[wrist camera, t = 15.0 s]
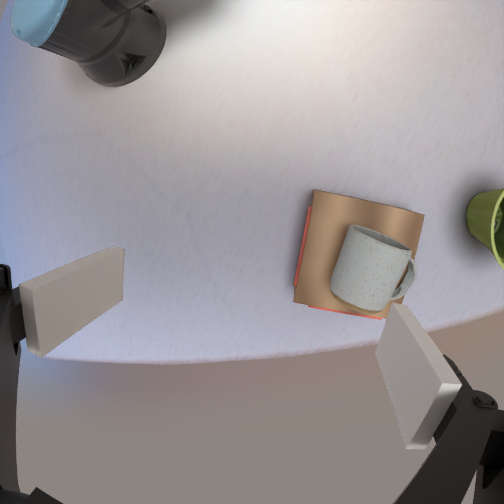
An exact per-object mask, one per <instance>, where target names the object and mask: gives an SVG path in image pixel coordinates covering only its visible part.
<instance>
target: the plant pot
mask: <svg viewBox="0 0 504 504" xmlns="http://www.w3.org/2000/svg"><path fill="white" fill-rule="evenodd" d="M466 219H467V225H468V229H469V231H470V233H471V234H472V235H473V236H474V237H475V238H476V239H478V240H479V241H480V242H481V243H482V244H484V245H485V246H486V247H487V248H488V249H489V250H490V251H492V253H493V254H494V256H495V258H496V260H497V262H498V263H499V265H500V266H501V267H502V268H503V269H504V189H499V190H493V191H488V192H482V193H479V194H477V195H476V196H474V197H473V199H472V200H471V201H470V203H469V205H468V208H467V212H466ZM495 222H496V223H497V224H496V226H495V228H494V223H495Z"/></svg>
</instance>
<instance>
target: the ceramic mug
mask: <svg viewBox="0 0 504 504" xmlns="http://www.w3.org/2000/svg"><path fill="white" fill-rule="evenodd" d="M411 254H412V250H411V249H410V248H409V247H407V246H406V245H404V244H402V243H401V242H399V241H397V240H395V239H393V238H391V237H389V236H387V235H384V234H381V233H379V232H377V231H374V230H371V229H369V228H365V227H362V226H358V225H350V226H349V228H348V231H347V234H346V238H345V240H344V243H343V246H342V249H341V252H340V255H339V258H338V261H337V263H336V266H335V269H334V271H333V274H332V277H331V282H330V291H331V294H332V295H333V297H334V298H335V299H336V300H337V301H338V302H340V303H341V304H343V305H344V306H346V307H348V308H350V309H352V310H355V311H357V312H361V313H366V314H376V313H379V312H381V311H382V310H383V309H384V308H385V306H386V305H387V304H388V302H389V301H390V300H395V299H398V298H400V297H402V296H403V295H404V294H405V293H407V291H408V290H409V289H410V288H411V286H412V284H413V282H414V280H415V278H416V274H417V267H416V264H415V261H414V260H413V259H412V258H411ZM407 263H408V271H407V273H406V276H405V277H404V279H403V281H402V283H401V284H400V286H399V287H398V288H397V289H396V290H395V288H396V286H397V284H398V282H399V280H400V278H401V276H402V274H403V272H404V270H405V268H406V266H407Z"/></svg>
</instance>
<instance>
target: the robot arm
mask: <svg viewBox="0 0 504 504" xmlns="http://www.w3.org/2000/svg"><path fill="white" fill-rule="evenodd" d="M147 1H149V0H16V1H15V3H14V6H13V10H12V14H11V28H12V31H13V33H14V35H15V36H16V37H17V38H19V39H21V40H23V41H25V42H27V43H29V44H30V45H31V46H33V47H39V48H42V49H45V50H47V51H50V52H53V53H56V54H58V55H61V56H63V57H66V58H69V59H71V60H74V61H76V62H77V63H78V64H79V65H80V67H81V68H82V69H83V70H84V71H85V73H86V74H87V76H88V77H89V78H91V79H92V80H94V81H95V82H98V83H100V84H103V85H106V86H120V85H124V84H127V83H130V82H132V81H134V80H135V79H137V78H139V77H140V76H141V75H143V74H144V73H145V72H146V71H147V70H148V69H149V68H150V67H151V66H152V65H153V64H154V62H155V61H156V60H157V58H158V57H159V55H160V53H161V51H162V49H163V46H164V43H165V38H166V28H165V24H164V21H163V19H162V18H161V16H160V15H159V14H158V13H157V12H156V11H155V10H153V9H152V8H151V7H149V6H147V5H144V3H145V2H147ZM124 251H125V249H121V248H117V247H110V248H107V249H105V250H102V251H99V252H97V253H94V254H92V255H89V256H87V257H84V258H82V259H79V260H77V261H74V262H72V263H69V264H67V265H64V266H62V267H59V268H57V269H55V270H52V271H50V272H47V273H45V274H43V275H40V276H38V277H36V278H33V279H31V280H28V281H26V282H24V283H22V284H19V287H17V288H14V289H12V282H11V270H10V267H9V266H8V265H4V264H0V504H63V503H61V502H59V501H58V500H56V499H54V498H53V497H51V496H50V495H48V494H46V493H45V492H43V491H42V490H40V489H39V488H37V487H36V488H35V489H34V491H33V492H32V493H31V494H30V495H28V494H24V493H21V492H20V489H19V485H18V478H17V464H16V403H17V386H18V374H19V365H20V356H21V346H20V341H21V340H22V339H24V338H26V341H27V347H28V351H29V352H31V353H33V354H35V355H37V356H39V357H41V358H42V357H43V356H44V355H46V354H47V353H49V352H50V351H51V350H53V349H54V348H55V347H57V346H58V345H60V344H61V343H62V342H64V341H65V340H67V339H68V338H69V337H71V336H72V335H73V334H75V333H76V332H78V331H79V330H80V329H82V328H83V327H85V326H86V325H88V324H89V323H90V322H92V321H93V320H95V319H96V318H97V317H99V316H100V315H102V314H103V313H105V312H106V311H107V310H109V309H110V308H112V307H113V306H115V305H116V304H117V303H119V302H120V301H122V300H123V273H124ZM375 355H376V358H377V361H378V363H379V366H380V369H381V372H382V375H383V378H384V380H385V384H386V387H387V390H388V393H389V396H390V399H391V402H392V405H393V408H394V411H395V414H396V418H397V421H398V424H399V427H400V431H401V434H402V437H403V441H404V444H405V448H406V449H425V448H426V446H427V445H428V443H429V442H430V440H431V439H432V437H434V439H435V442H436V445H435V447H434V448H433V450H432V451H431V453H430V454H429V456H428V457H427V459H426V460H425V462H424V463H423V464H422V466H421V468H420V469H419V470H418V472H417V473H416V474H415V476H414V477H413V479H412V480H411V481H410V483H409V484H408V485H407V487H406V488H405V489H404V490H403V492H402V493H401V494H400V495H399V497H398V498H397V499H396V501H395V502H394V503H393V504H461V502H462V500H463V498H464V496H465V494H466V492H467V490H468V488H469V486H470V483H471V481H472V479H473V476H474V474H475V472H476V470H477V474H476V483H475V491H474V499H473V504H504V411H503V410H498V405H497V403H496V401H495V400H494V399H493V398H492V397H491V396H490V395H488V394H486V393H484V392H481V391H477V390H473V389H472V388H471V386H470V385H469V383H468V382H467V381H466V379H465V378H464V376H462V373H461V372H460V370H458V367H457V366H456V365H455V363H454V362H453V361H452V360H451V359H449V358H448V357H447V356H446V355H442V354H441V352H440V351H439V349H438V348H437V347H436V345H435V344H434V342H433V341H432V340H431V338H430V337H429V335H428V334H427V332H426V331H425V330H424V328H423V327H422V326H421V324H420V323H419V321H418V320H417V319H416V317H415V316H414V315H413V313H412V312H411V311H410V309H409V308H408V307H407V305H403V304H398V303H392V304H391V307H390V310H389V313H388V317H387V320H386V323H385V326H384V329H383V332H382V335H381V338H380V341H379V344H378V347H377V350H376V352H375Z"/></svg>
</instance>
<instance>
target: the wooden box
mask: <svg viewBox="0 0 504 504" xmlns="http://www.w3.org/2000/svg"><path fill="white" fill-rule="evenodd" d="M423 220H424V215H423V214H420V213H417V212H413V211H410V210H406V209H402V208H398V207H394V206H389V205H385V204H381V203H376V202H372V201H368V200H363V199H358V198H354V197H349V196H344V195H339V194H335V193H330V192H325V191H319V190H313V196H312V201H311V206H309V208H308V213H307V218H306V224H305V229H304V234H303V240H302V245H301V250H300V255H299V260H298V265H297V270H296V275H295V280H294V285H293V286H295V290H294V300H293V302H295V303H300V304H305V305H308V307H311V308H317V309H322V310H328V311H333V312H339V313H345V314H350V315H356V316H362V317H368V318H374V319H380V320H381V319H382V318H385V319H387V317H388V313H389V310H390V307H391V304H392V303H398V304H402V301H403V298H404V295H405V294H404V295H403V296H402V297H400V298H398V299H395V300H390V301H389V302H388V304H387V305H386V306H385V308H384V309H383V310H382V311H381V312H379V313H376V314H366V313H361V312H357V311H355V310H352V309H350V308H348V307H346V306H344V305H343V304H341V303H340V302H338V301H337V300H336V299H335V298H334V297H333V295H332V294H331V291H330V282H331V277H332V274H333V271H334V269H335V266H336V263H337V261H338V258H339V255H340V252H341V249H342V246H343V243H344V240H345V238H346V234H347V231H348V228H349V226H350V225H358V226H362V227H365V228H369V229H371V230H374V231H377V232H379V233H381V234H384V235H387V236H389V237H391V238H393V239H395V240H397V241H399V242H401V243H402V244H404V245H406V246H407V247H409V248H410V249H411V250H412V254H411V258H412V259H413V260H414V259H415V255H416V251H417V246H418V242H419V238H420V233H421V229H422V224H423ZM407 271H408V263H407V266H406V268H405V270H404V272H403V274H402V276H401V278H400V280H399V282H398V284H397V286H396V288H395V290H396V289H397V288H398V287H399V286H400V284H401V283H402V281H403V279H404V277H405V276H406V273H407Z"/></svg>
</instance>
